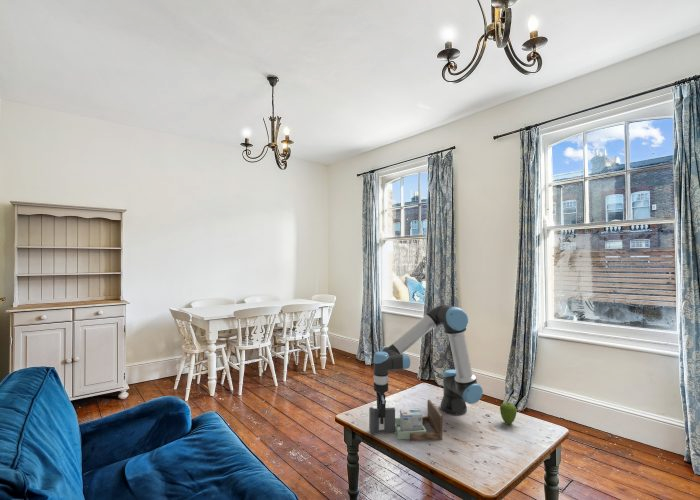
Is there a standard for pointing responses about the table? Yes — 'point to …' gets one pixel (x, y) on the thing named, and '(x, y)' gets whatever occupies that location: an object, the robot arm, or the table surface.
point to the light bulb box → (410, 420)
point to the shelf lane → (435, 422)
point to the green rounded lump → (508, 412)
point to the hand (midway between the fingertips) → (380, 428)
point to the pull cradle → (388, 423)
